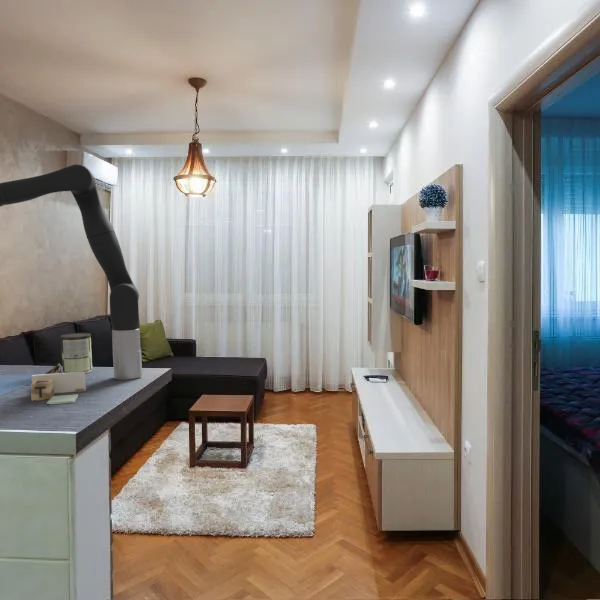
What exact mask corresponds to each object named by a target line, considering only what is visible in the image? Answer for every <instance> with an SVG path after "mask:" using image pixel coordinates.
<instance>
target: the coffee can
mask: <svg viewBox="0 0 600 600" xmlns="http://www.w3.org/2000/svg"><path fill="white" fill-rule="evenodd" d="M91 336H92V334H91V333H89V332H75V333H74V332H73V333H67V334H66V333H65V334H62V335H60V343H61V344H60V345H61V361H62V366H61V367H62V373H70V372H85V374H88V373H91V372H92V371H93V362H92V361H93V357H92V356H93V355H92V338H91Z"/></svg>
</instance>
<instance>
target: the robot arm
mask: <svg viewBox="0 0 600 600" xmlns="http://www.w3.org/2000/svg"><path fill="white" fill-rule="evenodd" d="M97 187H98V186H97V185H96V180H95V177H94V175H93V173H92V171H91V170H90V169H89V168H88V167H86V166H85V165H82V164H77V163H75V164H72V165H69V166H65V167H64V168H60V169H58V170H55V171H54V170H53V171H52V172H48V173H44V174H40V175H36V176H32V177H28V178H21V179H14V180H11V181H10V180H9V181H4V182H0V207H2V206H7V205H14V204H18V203H19V204H20V203H24V202H28V201H32V200H34V199H37V198H39V197H42V196H45V195H49V194H54V193H59V192H60V193H61V192H62V193H63V192H71V194H72V196H73V198H74V200H75V201H76V204H77V206H78V209H79V211H80V214H81V219H82V220H81V221H82V225H83V229H84V233H85V236H86V238H87V239H86V240H87V242H88V244H89V246H90V249H91V251H92V253H93V255H94V257H95V259H96V261H97V262H98V264H99V265H100V267H101V268H102V271H103V272H104V274H105V276H106V279H107V281H108V285H109V287H110V288H109V289H110V293H109V311H110V312H109V313H110V323H111V338H112V340H111V341H112V361H113V362H112V363H113V378H114V379H115V380H119V381H122V380H123V381H124V380H135V379H139V378H142V376H143V368H142V367H143V365H142V349H141V331H140V330H141V328H140V311H139V299H140V294H139V291H138V289H137V287H136V286H135V284H134V281H133V280H132V278H131V275H130V274H129V271H128V270H127V266H126V263H125V259H124V255H123V251H122V248H121V246H120V242H119V240H118V237H117V234H116V231H115V229H114V227H113V225H112V223H111V220H110V217H109V216H108V214H107V213H106V211H105V209H104V207H103V205H102V201H101V199H100V195H99V192H98V188H97Z"/></svg>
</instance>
